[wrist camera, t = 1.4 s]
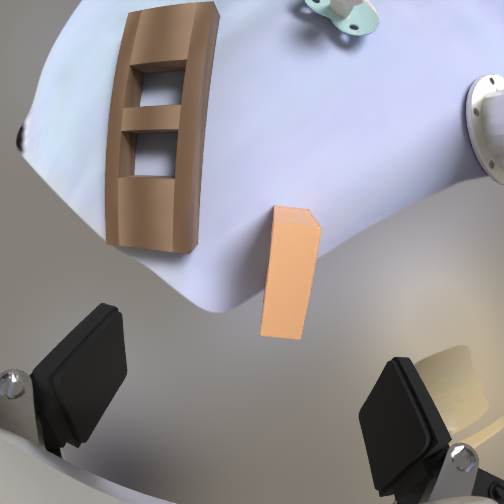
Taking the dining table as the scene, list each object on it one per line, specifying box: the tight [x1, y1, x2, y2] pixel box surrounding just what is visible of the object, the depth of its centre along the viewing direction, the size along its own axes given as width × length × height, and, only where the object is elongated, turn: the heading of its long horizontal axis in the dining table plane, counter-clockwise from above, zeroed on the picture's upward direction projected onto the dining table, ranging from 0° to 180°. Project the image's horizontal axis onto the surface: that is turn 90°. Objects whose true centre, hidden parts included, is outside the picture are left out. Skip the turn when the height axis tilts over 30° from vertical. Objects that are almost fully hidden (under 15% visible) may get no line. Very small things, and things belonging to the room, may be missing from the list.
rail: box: [105, 1, 220, 254], centre depth 21 cm, size 8×22×3 cm, turn 175°
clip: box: [260, 205, 321, 340], centre depth 22 cm, size 3×8×7 cm, turn 175°
